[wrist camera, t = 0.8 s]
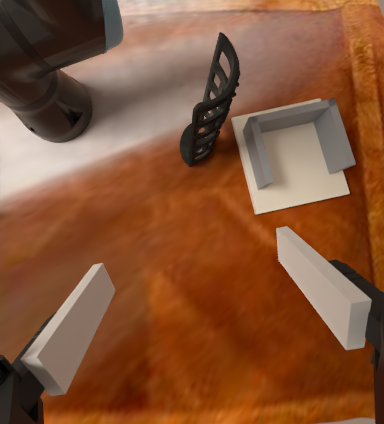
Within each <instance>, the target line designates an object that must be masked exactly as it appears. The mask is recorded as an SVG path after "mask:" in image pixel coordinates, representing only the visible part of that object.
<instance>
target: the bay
mask: <svg viewBox="0 0 384 424" xmlns="http://www.w3.org/2000/svg"><path fill="white" fill-rule="evenodd" d="M231 121H232V125H233V129H234V133H235V137H236V141H237V145H238V149H239V153H240V157H241V161H242V164H243V168H244V172H245V176H246V180H247V184H248V188H249V192H250V196H251V200H252V204H253V208H254V212H255V215H256V214H261V213H265V212H270V211H274V210H279V209H283V208H288V207H293V206H297V205H302V204H306V203H311V202H315V201H320V200H324V199H329V198H334V197H338V196H343V195H347V194H350V192H349V189H348V186H347V182H346V179H345V176H344V173H343V170H344V169H346V168H348V167H351V166H353V165H356V163H355V160H354V156H353V153H352V150H351V147H350V144H349V141H348V138H347V135H346V131H345V128H344V125H343V122H342V119H341V116H340V113H339V110H338V106H337V103H336V100H335V98H334V99H329V100H324V101H321V99H320V98H319V99H315V100H310V101H306V102H301V103H296V104H292V105H287V106H283V107H278V108H274V109H269V110H265V111H260V112H255V113H251V114H246V115H242V116H237V117H233V118H232V119H231Z"/></svg>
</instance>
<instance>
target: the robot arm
mask: <svg viewBox="0 0 384 424" xmlns="http://www.w3.org/2000/svg"><path fill="white" fill-rule="evenodd" d="M122 40H123V25H122V19H121V15H120V10H119V6H118V2H117V0H0V102H2V103H3V104H5V105H6V106H8V107H9V108H10V109H11V110H12V111H13V112H14V113H15V114H16V116H17V117H18V118H19V119H20V120H21V121H22V123H23V124H24V125H25V126H26V127H27V128H28V129H29V130H30V131H31V132H32V133H34V134H35V135H37V136H39V137H40V138H42V139H44V140H47V141H50V142H65V141H68V140H71V139H73V138H75V137H77V136H78V135H79V134H81V133H82V132H83V131H84V130H85V128H86V127H87V125H88V124H89V122H90V119H91V116H92V102H91V99H90V97H89V95H88V93H87V92H86V91H85V89H84V88H83V87H82V86H81V85H80V84H79V83H78V82H77V81H76V80H75V79H73V78H72V77H70V76H68V75H67V74H66V73H64V72H63V71H61V70H60V69H61V68H64V67H67V66H69V65H72V64H75V63H78V62H80V61H83V60H86V59H89V58H91V57H94V56H97V55H100V54H104V53H106V52H107V51H108V50H110V49H112V48H114V47H116V46H118V45H119V44H120V43H121V42H122ZM276 230H277V246H278V260H279V261H280V263H281V264H282V265H283V267H284V268H285V269H286V271H287V272H288V273H289V275H290V276H291V277H292V279H293V280H294V281H295V283H296V284H297V285H298V287H299V288H300V289H301V291H302V292H303V293H304V295H305V296H306V297H307V299H308V300H309V301H310V303H311V304H312V305H313V307H314V308H315V309H316V311H317V312H318V313H319V315H320V316H321V317H322V319H323V320H324V321H325V323H326V324H327V325H328V327H329V328H330V329H331V331H332V332H333V333H334V335H335V336H336V337H337V339H338V340H339V341H340V343H341V344H342V345H343V347H344V348H345V349H346V350H350V349H357V348H363V347H364V345H365V339H367V340H368V341H369V342H370V343H371V344H372V345H373V347H374V350H373V355H372V360H371V363H372V364H374V393H375V420H376V421H375V423H376V424H384V293H383V292H381V291H380V290H379V289H378V288H376V287H375V286H374V285H372V284H371V283H370V282H369V281H367V280H366V279H364V278H363V277H362V276H361V275H360V274H358V273H356V271H355V270H353V269H352V268H351V267H350V266H348V265H347V264H345V263H342V262H340V261H338V260H331V261H327V260H325V259H324V258H323V257H322V256H321V255H320V254H318V253H317V252H316V251H315V250H314V249H313V248H312V247H310V246H309V245H308V244H307V243H306V242H305V241H304V240H302V239H301V238H300V237H299V236H298V235H297V234H295V233H294V232H293V231H292V230H291V229H290V228H289V227H287V226H286V227H281V228H276ZM115 291H116V290H115V288H114V286H113V284H112V282H111V279H110V277H109V275H108V273H107V271H106V269H105V267H104V264H103V263H100V264H95V265H93V266H92V267H91V269H90V270H89V271H88V272H87V274H86V275H85V276H84V278H83V279H82V280H81V282H80V283H79V284H78V285H77V287H76V288H75V289H74V291H73V292H72V293H71V295H70V296H69V297H68V298H67V300H66V301H65V302H64V304H63V305H62V306H61V308H60V309H59V310H58V311H57V312H55V313H54V314H53V315H52V316H51V317H50V318H48V319H47V320H46V322H45V323H44V324H43V325H42V327H41V328H40V330H39V331H38V332H37V333H36V334H35V335H34V338H32V339H31V340H30V342H29V343H28V344H27V345H26V347H25V348H24V349H23V350H22V352H21V353H20V354H19V356H18V357H17V358H16V359H15V361H14V362H13V363H12V364H10V363H9V361H8V360H7V359H6V358H5V357H4V356H3V355H0V424H44V417H43V402H42V399H41V398H40V396H41V394H42V393H43V391H44V389H45V390H46V391H47V392H48V394H49V395H50V396H55V395H61V394H66V392H67V390H68V388H69V386H70V384H71V381H72V379H73V377H74V375H75V373H76V371H77V369H78V367H79V365H80V363H81V361H82V359H83V357H84V355H85V353H86V351H87V349H88V347H89V345H90V343H91V341H92V338H93V336H94V334H95V332H96V330H97V328H98V326H99V324H100V322H101V320H102V318H103V316H104V314H105V312H106V310H107V308H108V306H109V304H110V302H111V300H112V297H113V295H114V293H115Z"/></svg>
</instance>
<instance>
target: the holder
mask: <svg viewBox="0 0 384 424" xmlns="http://www.w3.org/2000/svg"><path fill="white" fill-rule="evenodd" d="M222 51H223V53H224V54H225V56H226V57H227V59H228V61H229V64H230V69H231V71H230V76H229V79H228V78H227V76H226V74H225V72H224V70H223V69H222V67H221V66H220V63H219V59H220V55H221V52H222ZM215 74H217V75H218V76H219V78H220V81H221V82H220V85H219V88H217V86H216V84H215V82H214V78H215ZM239 76H240V70H239V60H238V57H237V54H236V52H235V50H234V47H233V46H232V44H231V42H230V41H229V39H228V38H227V37H226V36H225V35H224V34H223V33H221V32H220V33H219V37H218V41H217V45H216V49H215V53H214V57H213V61H212V65H211V69H210V73H209V77H208V81H207V85H206V90H205V94H204V98H203V102H201V103H198V104H197V105H196V106H195V107H194V109H193V115H192V123H191V124H190V125H189V126H188V127H187V128H186V129H185V130H184V132H183V134H182V137H181V140H180V152H181V155H182V158H183V159H184V161H185V163H186V164H187V165H188V166H189V167H191V166H192V165H193V164H196V163H198V162H200V161H201V160H203V159H204V158H205V157H206V156H207V155H208V154H209V152H211V151H213V149H214V146H215V145H214V143H215V141H216V138H217V137H218V136H219V134H220V131H219V130H220V129H221V126H222V124H223V123H224V122H225V120H226V117H227V115H228V113H229V110H230V108H229V107H230V105H231V102H232V98H233V97H234V96H236V93H235V92H234V91H235V89H236V86H237V87H238V86H239V83H238V82H237V81H238V79H239ZM211 91H212V92H213V93H214V95H215V97H216V98H214V99H212V100H211V98H210V92H211ZM217 107H218V110H217ZM208 111H211V114H209V113H208ZM204 116H205V117H206V118H207V119H204ZM202 127H204V129H205V131H204V132H202V133H198V132H199V129H200V128H202ZM218 129H219V130H218ZM206 136H208V138H204V137H206ZM189 151H190V155H189ZM196 151H197V152H196ZM201 154H202V155H201ZM199 155H201V156H200V157H199V158H197V159H195V157H197V156H199Z"/></svg>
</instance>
